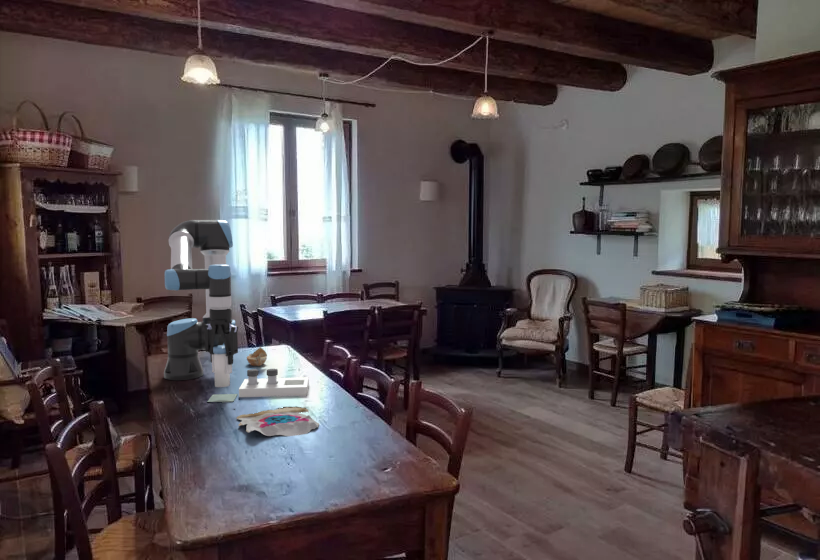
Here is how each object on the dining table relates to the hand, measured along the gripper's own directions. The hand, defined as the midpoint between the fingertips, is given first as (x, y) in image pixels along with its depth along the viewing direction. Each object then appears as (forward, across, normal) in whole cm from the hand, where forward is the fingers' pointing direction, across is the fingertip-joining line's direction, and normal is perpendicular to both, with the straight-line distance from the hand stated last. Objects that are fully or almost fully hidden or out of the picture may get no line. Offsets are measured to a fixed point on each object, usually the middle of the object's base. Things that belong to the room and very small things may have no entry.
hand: (222, 372), depth 215 cm
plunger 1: (+8, -6, -9) cm, 14 cm away
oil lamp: (+10, +22, -49) cm, 54 cm away
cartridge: (+5, 0, 0) cm, 5 cm away
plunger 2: (+8, -12, -13) cm, 19 cm away
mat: (+10, 0, 0) cm, 10 cm away
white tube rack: (+10, -13, -14) cm, 21 cm away
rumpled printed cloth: (+11, -33, +13) cm, 37 cm away
